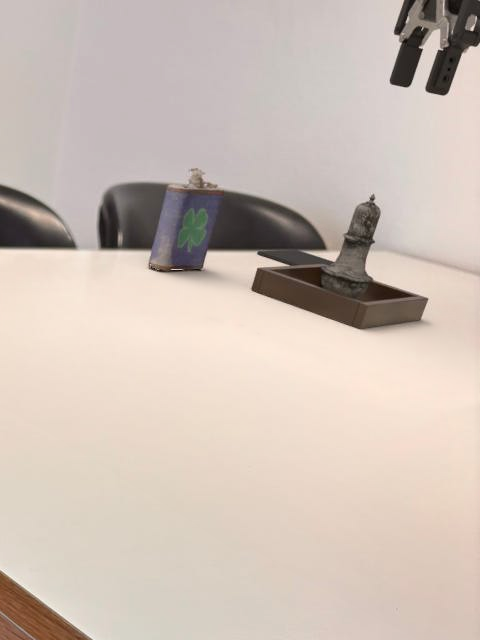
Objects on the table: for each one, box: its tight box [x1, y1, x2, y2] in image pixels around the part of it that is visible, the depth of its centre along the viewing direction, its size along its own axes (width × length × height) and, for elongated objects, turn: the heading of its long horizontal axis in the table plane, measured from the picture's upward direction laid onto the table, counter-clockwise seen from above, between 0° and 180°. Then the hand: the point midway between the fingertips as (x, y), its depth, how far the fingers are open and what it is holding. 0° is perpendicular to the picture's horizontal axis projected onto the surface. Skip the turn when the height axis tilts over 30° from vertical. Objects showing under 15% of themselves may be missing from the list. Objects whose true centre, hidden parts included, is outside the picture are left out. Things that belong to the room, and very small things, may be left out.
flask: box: [147, 167, 225, 271], centre depth 121 cm, size 9×3×11 cm, turn 133°
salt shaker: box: [321, 193, 382, 298], centre depth 119 cm, size 6×6×12 cm
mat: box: [256, 249, 335, 266], centre depth 142 cm, size 10×10×1 cm
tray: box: [250, 264, 429, 330], centre depth 121 cm, size 15×14×2 cm
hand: (416, 90), depth 109 cm, fingers open, 8 cm apart
